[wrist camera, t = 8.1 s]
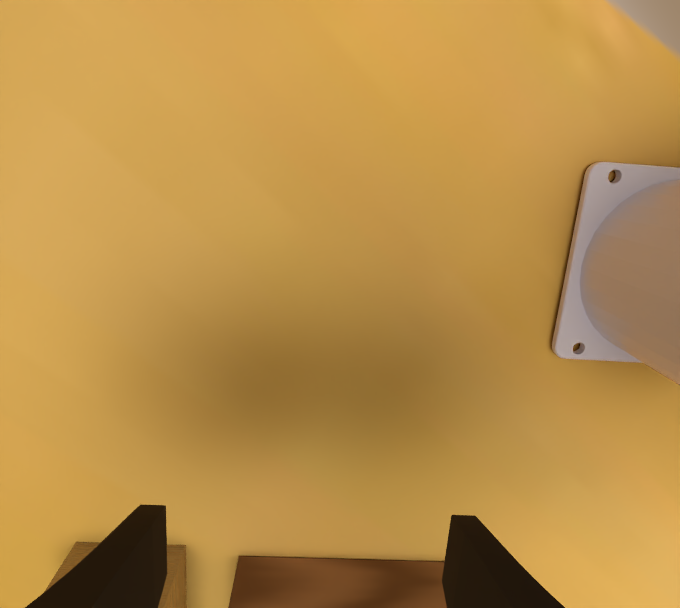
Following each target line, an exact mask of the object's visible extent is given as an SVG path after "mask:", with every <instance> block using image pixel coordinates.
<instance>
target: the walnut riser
mask: <svg viewBox="0 0 680 608" xmlns="http://www.w3.org/2000/svg"><path fill="white" fill-rule="evenodd" d="M443 569H444V562H431V561H394V560H358V559H321V558H285V557H248V556H239V559H238V564H237V569H236V573H235V578H234V583H233V588H232V593H231V598H230V603H229V608H447V606H446V601H445V595H444V590H443V585H442V575H443Z"/></svg>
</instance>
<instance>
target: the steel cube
mask: <svg viewBox="0 0 680 608" xmlns="http://www.w3.org/2000/svg"><path fill="white" fill-rule="evenodd" d="M99 544H100V543H92V542H76V543H75V545H74V546H73V548H72V550H71V551H70V553H69V554H68V556H67V557H66V559H65V560H64V562H63V564H62V565H61V567H60V568H59V570H58V571H57V573H56V575H55V576H54V578H53V579H52V581H51V582H50V584H49V585H48V587H47V589H46V590H45V591H47V590H48V589H49V588H50V587H51V586H52V585H54V584H55V583H56V582H57V581H58V580H60V579H61V578H62V577H63V576H64V575H66V574H67V573H68V572H69V571H70V570H71V569H73V568H74V567H75V566H76V565H77V564H78V563H79V562H80V561H81V560H82V559H84V558H85V557H86V556H87V555H88V554H89V553H90V552H91V551H92V550H93V549H94V548H96V547H97V546H98V545H99ZM158 608H187V606H186V545H167V577H166V581H165V584H164V588H163V592H162V595H161V599H160V602H159V606H158Z"/></svg>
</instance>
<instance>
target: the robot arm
mask: <svg viewBox="0 0 680 608" xmlns="http://www.w3.org/2000/svg"><path fill="white" fill-rule="evenodd" d="M612 170H614V171H615V173H616V177H615V179H614V181H612V182H611V183H610V181H609V180H608V175H609V173H610V172H611V171H612ZM576 343H580V347H579V349H578V350H576V351H573V346H574V345H575V344H576ZM552 350H553V352H554V353H555V354H556V355H558V356H559V357H560V358H564V359H581V360H600V361H620V362H639V363H644V364H646V365H648V366H649V367H651V368H653V369H654V370H656V371H658V372H659V373H661V374H662V375H664V376H666V377H667V378H669V379H671V380H672V381H674V382H676V383H677V384H679V385H680V168H678V167H665V166H652V165H639V164H625V163H612V162H596V163H593V164H592V165H590V166H589V167H588V169H587V170H586V173H585V176H584V181H583V186H582V192H581V197H580V202H579V207H578V212H577V217H576V223H575V228H574V233H573V238H572V243H571V248H570V254H569V259H568V264H567V269H566V274H565V279H564V285H563V290H562V295H561V300H560V305H559V310H558V316H557V321H556V326H555V331H554V336H553V341H552ZM166 577H167V538H166V506H164V505H140V506H139V507H137V508H136V509H135V510H134V511H133V512H132V513H131V514H130V515H129V516H128V517H127V518H126V519H125V520H124V521H123V522H122V523H121V524H120V525H119V526H118V527H117V528H116V529H115V530H114V531H112V532H111V533H110V534H109V535H108V536H107V537H106V538H105V539H104V540H103V541H102V542H101V543H100V544H99V545H98V546H97V547H96V548H94V549H93V550H92V551H91V552H90V553H89V554H88V555H87V556H86V557H85V558H84V559H82V560H81V561H80V562H79V563H78V564H77V565H76V566H75V567H74V568H73V569H71V570H70V571H69V572H68V573H67V574H66V575H64V576H63V577H62V578H61V579H60V580H58V581H57V582H56V583H55V584H54V585H52V586H51V587H50V588H49V589H48V590H47V591H45V592H44V593H43V594H42V595H41V596H39V597H38V598H37V599H35V600H34V601H33V602H32V603H30V604H29V605H28V606H27V607H25V608H158V606H159V602H160V599H161V595H162V592H163V588H164V584H165V581H166ZM442 585H443V590H444V595H445V601H446V606H447V608H565V607H564V606H563V605H561V604H560V603H559V602H558V601H557V600H556V599H555V598H554V597H553V596H552V595H551V594H550V593H549V592H547V591H546V590H545V589H544V588H543V587H542V586H541V585H540V584H539V583H538V582H537V581H536V580H535V579H534V578H533V577H532V576H531V575H530V574H529V573H528V572H527V571H526V570H525V569H524V568H523V567H522V566H521V565H520V564H519V563H518V561H517V560H516V559H515V558H514V557H513V556H512V555H511V554H510V553H509V552H508V551H507V550H506V549H505V548H504V547H503V545H502V544H501V543H500V542H499V541H498V540H497V539H496V538H495V537H494V536H493V535H492V533H491V532H490V531H489V530H488V529H487V528H486V527H485V526H484V525H483V524H482V523H481V521H480V520H479V519H478V518H477V517H476V516H467V515H452V516H451V523H450V529H449V536H448V543H447V549H446V556H445V562H444V569H443V575H442Z"/></svg>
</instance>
